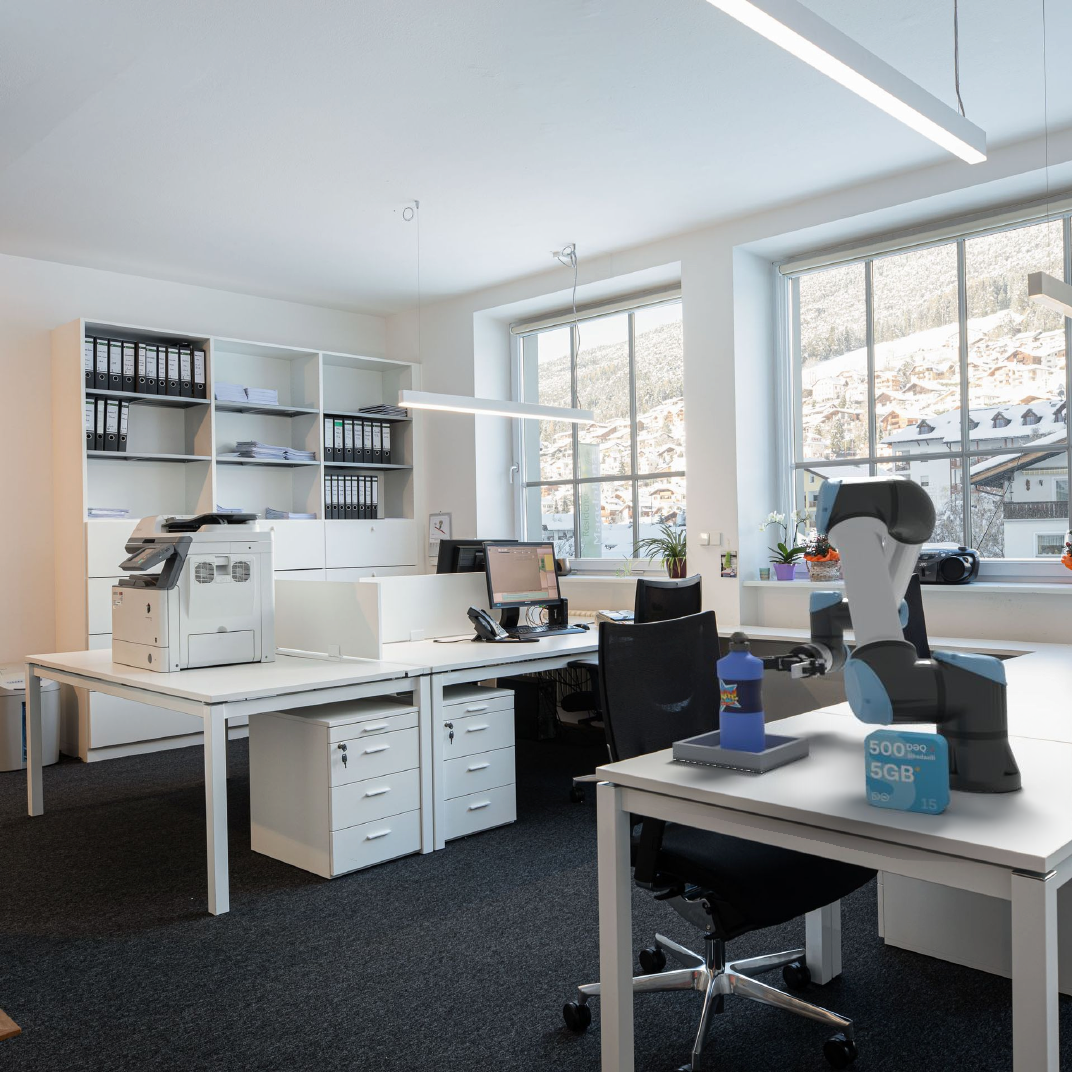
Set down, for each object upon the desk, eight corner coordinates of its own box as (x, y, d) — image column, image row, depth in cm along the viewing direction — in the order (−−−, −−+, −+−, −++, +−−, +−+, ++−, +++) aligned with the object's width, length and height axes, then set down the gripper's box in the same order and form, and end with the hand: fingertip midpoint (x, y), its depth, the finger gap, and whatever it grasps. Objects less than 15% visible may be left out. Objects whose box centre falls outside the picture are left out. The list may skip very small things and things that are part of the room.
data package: (866, 805, 152) (863, 732, 152) (874, 799, 156) (871, 728, 156) (943, 816, 145) (940, 739, 145) (950, 809, 149) (947, 734, 149)
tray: (760, 773, 176) (760, 755, 176) (673, 760, 190) (672, 743, 190) (808, 755, 191) (808, 738, 191) (724, 744, 204) (723, 728, 205)
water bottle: (741, 760, 184) (736, 634, 185) (710, 752, 192) (706, 632, 193) (776, 754, 188) (771, 631, 189) (744, 747, 197) (740, 629, 197)
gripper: (862, 680, 205) (819, 691, 190) (760, 673, 222) (713, 683, 207) (860, 646, 206) (818, 655, 190) (759, 642, 222) (712, 649, 207)
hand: (763, 669), depth 198 cm, fingers open, 13 cm apart
